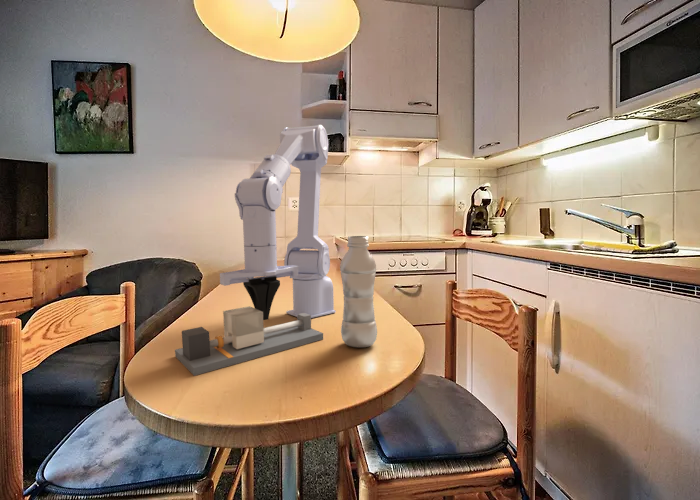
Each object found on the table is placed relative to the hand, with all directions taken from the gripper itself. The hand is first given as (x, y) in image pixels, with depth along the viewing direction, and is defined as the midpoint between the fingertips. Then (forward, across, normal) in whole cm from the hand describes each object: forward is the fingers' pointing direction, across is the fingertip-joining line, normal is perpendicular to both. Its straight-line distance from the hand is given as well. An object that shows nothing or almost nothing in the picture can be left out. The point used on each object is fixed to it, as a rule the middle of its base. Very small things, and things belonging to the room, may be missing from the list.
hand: (262, 318), depth 67 cm
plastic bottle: (+5, +13, -12) cm, 18 cm away
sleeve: (+3, -4, 0) cm, 5 cm away
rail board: (+5, -2, 0) cm, 5 cm away
